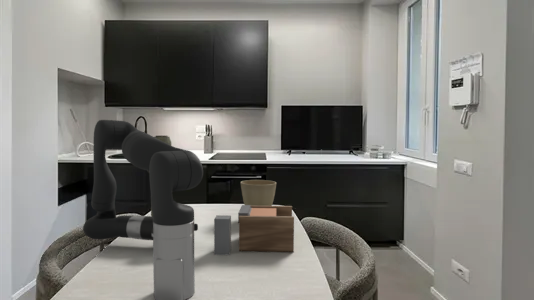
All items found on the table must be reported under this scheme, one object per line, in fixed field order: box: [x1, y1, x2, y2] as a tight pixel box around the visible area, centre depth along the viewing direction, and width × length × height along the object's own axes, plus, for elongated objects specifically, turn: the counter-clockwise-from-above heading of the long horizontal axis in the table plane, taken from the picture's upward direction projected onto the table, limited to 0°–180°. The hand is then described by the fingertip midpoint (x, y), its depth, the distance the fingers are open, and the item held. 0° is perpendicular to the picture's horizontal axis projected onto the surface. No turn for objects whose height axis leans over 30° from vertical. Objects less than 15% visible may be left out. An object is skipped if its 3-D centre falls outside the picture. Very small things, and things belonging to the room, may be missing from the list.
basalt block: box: [213, 214, 232, 256], centre depth 115 cm, size 4×4×11 cm
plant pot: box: [240, 179, 277, 206], centre depth 154 cm, size 15×15×16 cm
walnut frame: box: [238, 205, 295, 253], centre depth 123 cm, size 16×17×11 cm
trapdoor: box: [237, 204, 276, 224], centre depth 123 cm, size 13×12×3 cm
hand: (192, 230), depth 117 cm, fingers open, 8 cm apart
